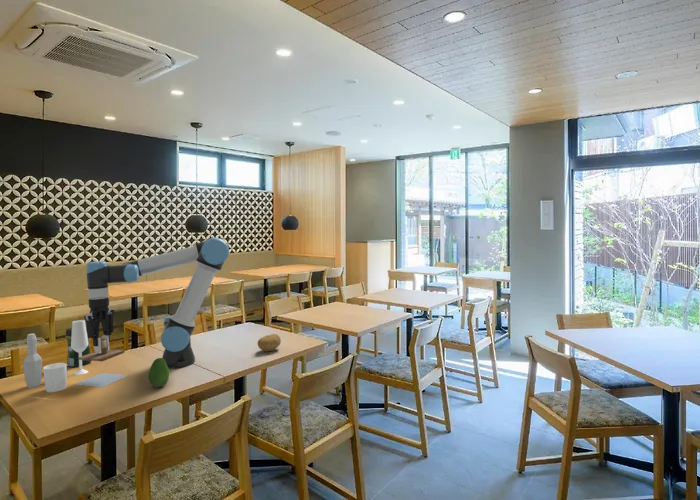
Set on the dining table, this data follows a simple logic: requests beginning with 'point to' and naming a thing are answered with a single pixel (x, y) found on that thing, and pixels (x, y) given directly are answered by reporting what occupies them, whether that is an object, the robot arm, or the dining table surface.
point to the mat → (101, 380)
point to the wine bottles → (73, 355)
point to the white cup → (55, 377)
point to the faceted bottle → (32, 364)
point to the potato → (269, 342)
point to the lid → (102, 353)
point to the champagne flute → (79, 341)
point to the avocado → (158, 373)
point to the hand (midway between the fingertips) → (102, 351)
